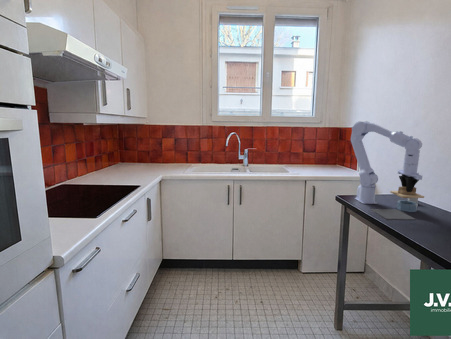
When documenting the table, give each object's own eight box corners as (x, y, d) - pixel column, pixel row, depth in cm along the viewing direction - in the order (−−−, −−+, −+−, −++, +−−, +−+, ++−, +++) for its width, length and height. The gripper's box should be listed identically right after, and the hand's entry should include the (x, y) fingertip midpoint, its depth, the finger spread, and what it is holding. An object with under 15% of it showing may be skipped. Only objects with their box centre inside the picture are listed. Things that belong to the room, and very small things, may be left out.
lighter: (415, 203, 142) (417, 189, 141) (417, 204, 141) (419, 189, 139) (401, 202, 144) (403, 188, 142) (402, 203, 142) (404, 189, 141)
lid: (390, 192, 135) (391, 184, 134) (409, 192, 135) (410, 184, 134) (403, 198, 125) (404, 189, 124) (424, 197, 125) (425, 189, 124)
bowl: (393, 206, 136) (394, 200, 136) (409, 206, 136) (410, 200, 136) (403, 211, 129) (404, 205, 128) (420, 212, 128) (421, 205, 128)
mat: (371, 209, 131) (371, 209, 131) (397, 210, 131) (397, 209, 131) (386, 219, 118) (386, 218, 118) (415, 219, 118) (415, 218, 118)
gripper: (430, 166, 120) (426, 195, 122) (408, 161, 134) (405, 187, 137) (415, 166, 120) (411, 194, 122) (395, 161, 134) (391, 187, 137)
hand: (407, 190), depth 129 cm, fingers closed on lid, 2 cm apart
